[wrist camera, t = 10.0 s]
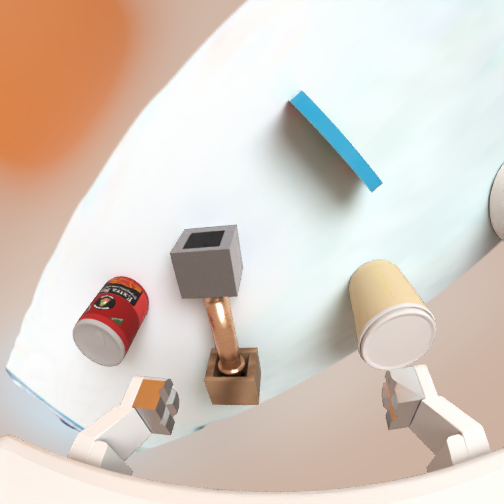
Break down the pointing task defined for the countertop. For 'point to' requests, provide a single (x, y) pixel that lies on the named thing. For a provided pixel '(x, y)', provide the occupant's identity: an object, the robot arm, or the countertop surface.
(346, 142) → the blue thin box
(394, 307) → the coffee cup
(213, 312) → the tube
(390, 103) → the countertop surface
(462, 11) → the countertop surface
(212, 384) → the socket
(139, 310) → the canned food
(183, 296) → the sleeve
